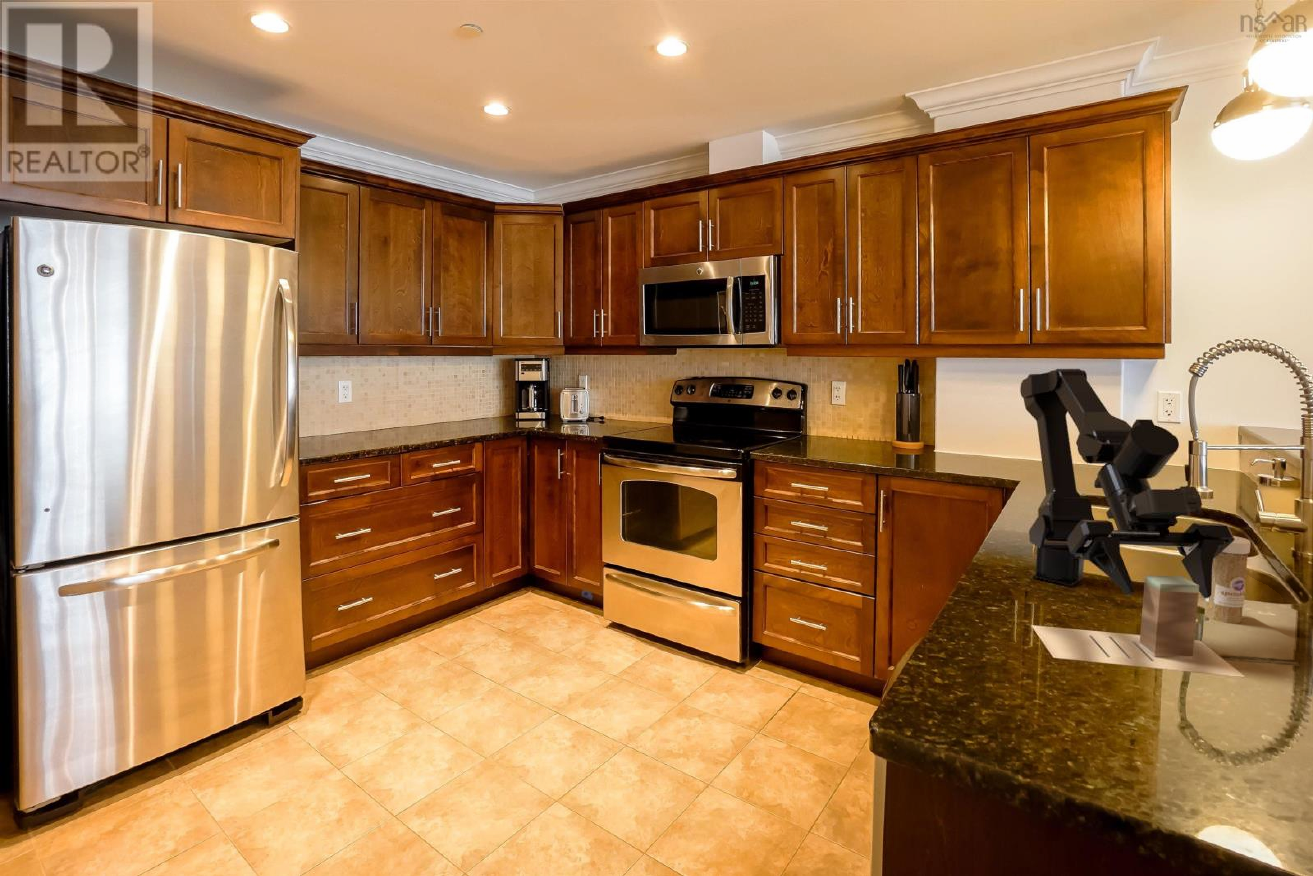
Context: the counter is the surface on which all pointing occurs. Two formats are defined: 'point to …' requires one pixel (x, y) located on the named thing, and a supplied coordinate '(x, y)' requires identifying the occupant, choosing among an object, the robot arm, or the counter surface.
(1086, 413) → the robot arm
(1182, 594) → the block
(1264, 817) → the counter surface
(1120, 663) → the birch board
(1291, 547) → the counter surface
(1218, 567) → the sprinkles bottle
